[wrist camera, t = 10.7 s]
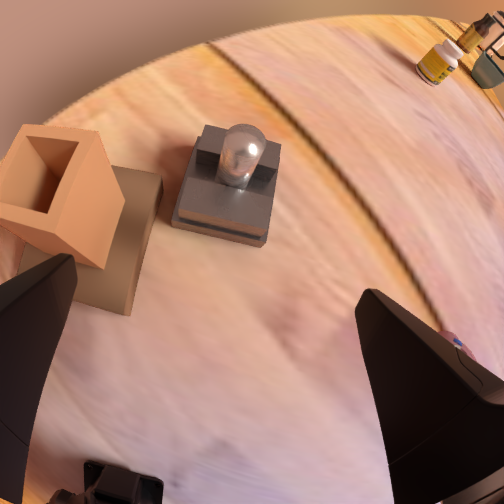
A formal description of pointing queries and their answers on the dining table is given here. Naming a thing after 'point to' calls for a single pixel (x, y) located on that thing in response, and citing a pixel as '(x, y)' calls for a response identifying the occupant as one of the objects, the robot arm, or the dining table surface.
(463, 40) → the sauce bottle
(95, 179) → the sleeve
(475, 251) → the dining table surface
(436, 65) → the supplement bottle
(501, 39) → the coffee press
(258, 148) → the vise
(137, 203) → the walnut block
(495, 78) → the flower pot
